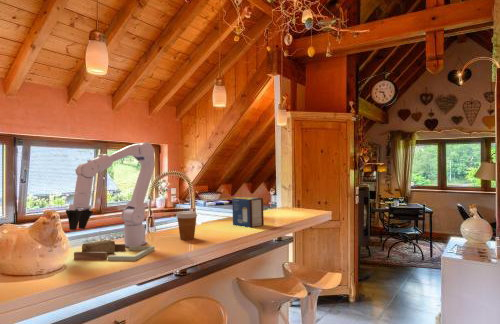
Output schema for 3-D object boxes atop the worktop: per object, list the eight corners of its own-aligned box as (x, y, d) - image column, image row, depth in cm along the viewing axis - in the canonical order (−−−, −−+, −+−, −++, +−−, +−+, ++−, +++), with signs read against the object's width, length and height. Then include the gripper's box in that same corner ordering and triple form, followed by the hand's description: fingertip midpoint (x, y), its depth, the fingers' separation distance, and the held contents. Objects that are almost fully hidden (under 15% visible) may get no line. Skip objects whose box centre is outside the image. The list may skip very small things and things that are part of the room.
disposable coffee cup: (172, 240, 162) (172, 213, 162) (182, 236, 171) (182, 211, 171) (192, 241, 159) (191, 214, 160) (201, 237, 168) (200, 211, 169)
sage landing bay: (130, 249, 144) (130, 245, 144) (154, 249, 143) (154, 246, 143) (107, 260, 127) (107, 256, 127) (135, 260, 126) (135, 256, 126)
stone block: (116, 253, 139) (116, 240, 139) (85, 259, 131) (85, 245, 131) (109, 251, 143) (109, 238, 143) (79, 256, 135) (79, 243, 135)
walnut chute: (97, 249, 145) (97, 243, 145) (125, 250, 143) (125, 243, 143) (74, 259, 130) (73, 252, 130) (105, 259, 128) (105, 252, 128)
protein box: (246, 222, 211) (245, 196, 212) (264, 225, 200) (263, 197, 200) (232, 224, 205) (231, 197, 205) (249, 227, 193) (249, 199, 193)
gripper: (80, 193, 146) (75, 227, 144) (63, 191, 131) (57, 229, 129) (98, 195, 146) (93, 228, 144) (82, 193, 131) (76, 231, 130)
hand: (77, 229), depth 137 cm, fingers open, 7 cm apart
